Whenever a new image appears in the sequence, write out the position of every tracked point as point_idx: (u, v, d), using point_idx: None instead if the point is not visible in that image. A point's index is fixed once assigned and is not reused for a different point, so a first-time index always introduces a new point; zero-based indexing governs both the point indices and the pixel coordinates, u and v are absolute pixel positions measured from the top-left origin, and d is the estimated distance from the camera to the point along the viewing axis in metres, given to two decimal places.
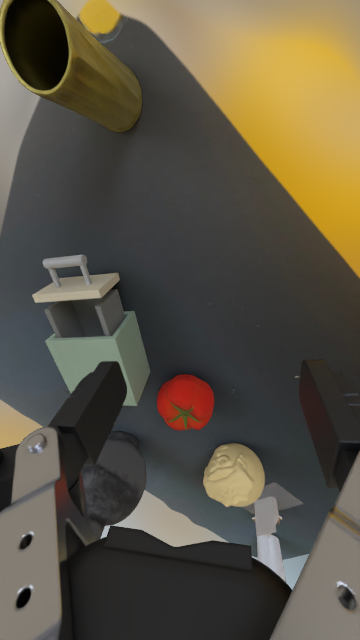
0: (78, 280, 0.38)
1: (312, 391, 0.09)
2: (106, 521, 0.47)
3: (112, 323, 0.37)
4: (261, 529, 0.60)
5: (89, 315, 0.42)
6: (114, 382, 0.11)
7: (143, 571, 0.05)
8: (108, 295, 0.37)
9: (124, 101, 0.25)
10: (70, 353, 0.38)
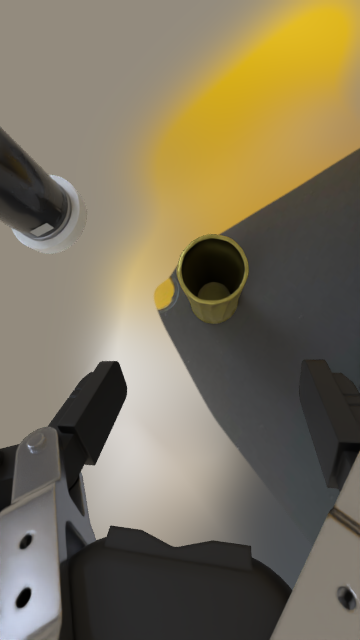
0: None
1: (312, 391, 0.09)
2: None
3: None
4: None
5: None
6: (114, 382, 0.11)
7: (143, 571, 0.05)
8: None
9: None
10: None
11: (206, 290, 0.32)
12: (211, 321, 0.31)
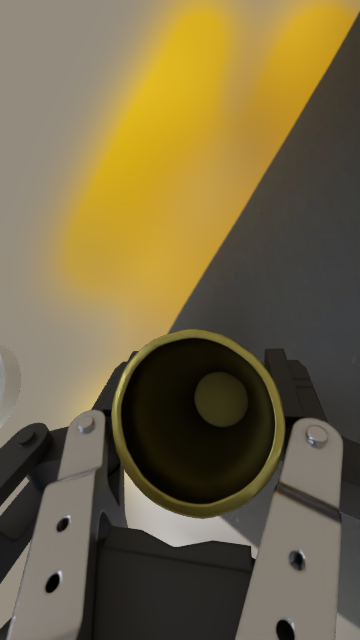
0: None
1: None
2: None
3: None
4: None
5: None
6: None
7: (143, 571, 0.05)
8: None
9: None
10: None
11: (203, 391, 0.20)
12: None
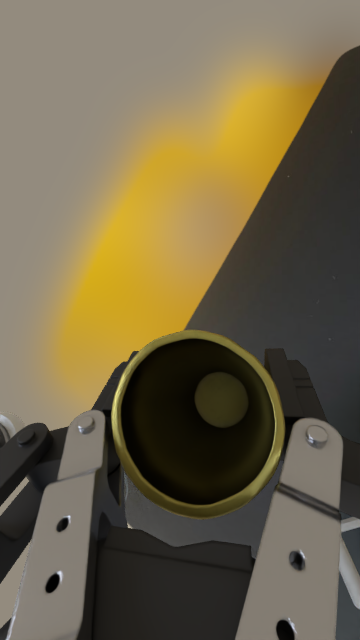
0: None
1: None
2: None
3: None
4: None
5: None
6: None
7: (143, 571, 0.05)
8: None
9: None
10: None
11: (203, 391, 0.20)
12: None
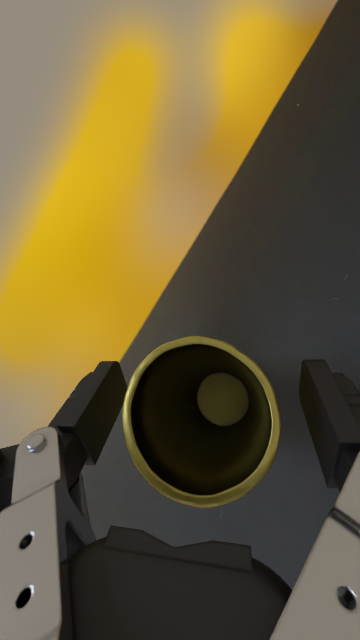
0: None
1: (312, 391, 0.09)
2: None
3: None
4: None
5: None
6: (114, 382, 0.11)
7: (143, 571, 0.05)
8: None
9: None
10: None
11: (205, 391, 0.21)
12: None
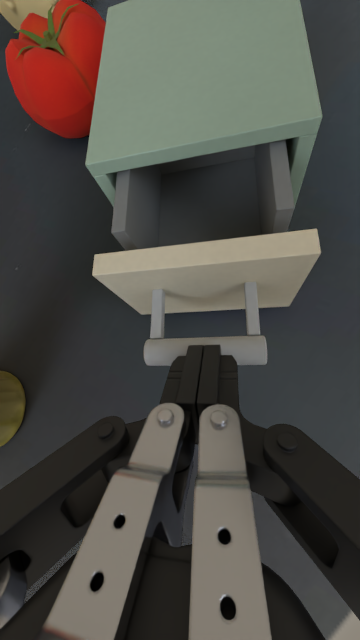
0: (215, 300, 0.15)
1: None
2: None
3: None
4: None
5: (228, 218, 0.18)
6: None
7: (143, 571, 0.05)
8: None
9: None
10: (237, 96, 0.12)
11: None
12: (14, 409, 0.19)
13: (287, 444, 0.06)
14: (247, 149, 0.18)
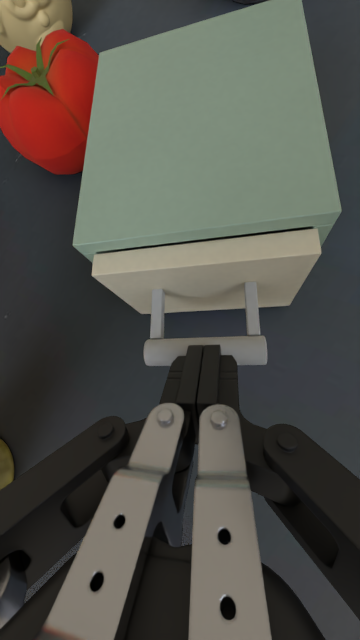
0: (214, 299, 0.15)
1: None
2: None
3: None
4: None
5: None
6: None
7: (143, 571, 0.05)
8: None
9: None
10: (243, 176, 0.11)
11: None
12: (1, 482, 0.18)
13: (287, 444, 0.06)
14: None
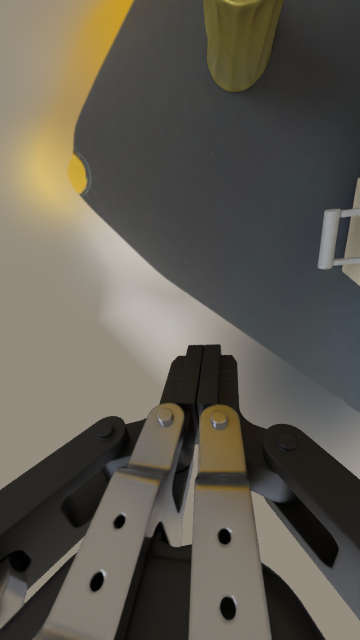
0: (356, 236, 0.28)
1: None
2: None
3: None
4: None
5: None
6: None
7: (143, 571, 0.05)
8: None
9: None
10: None
11: None
12: (241, 85, 0.25)
13: (287, 444, 0.06)
14: None
